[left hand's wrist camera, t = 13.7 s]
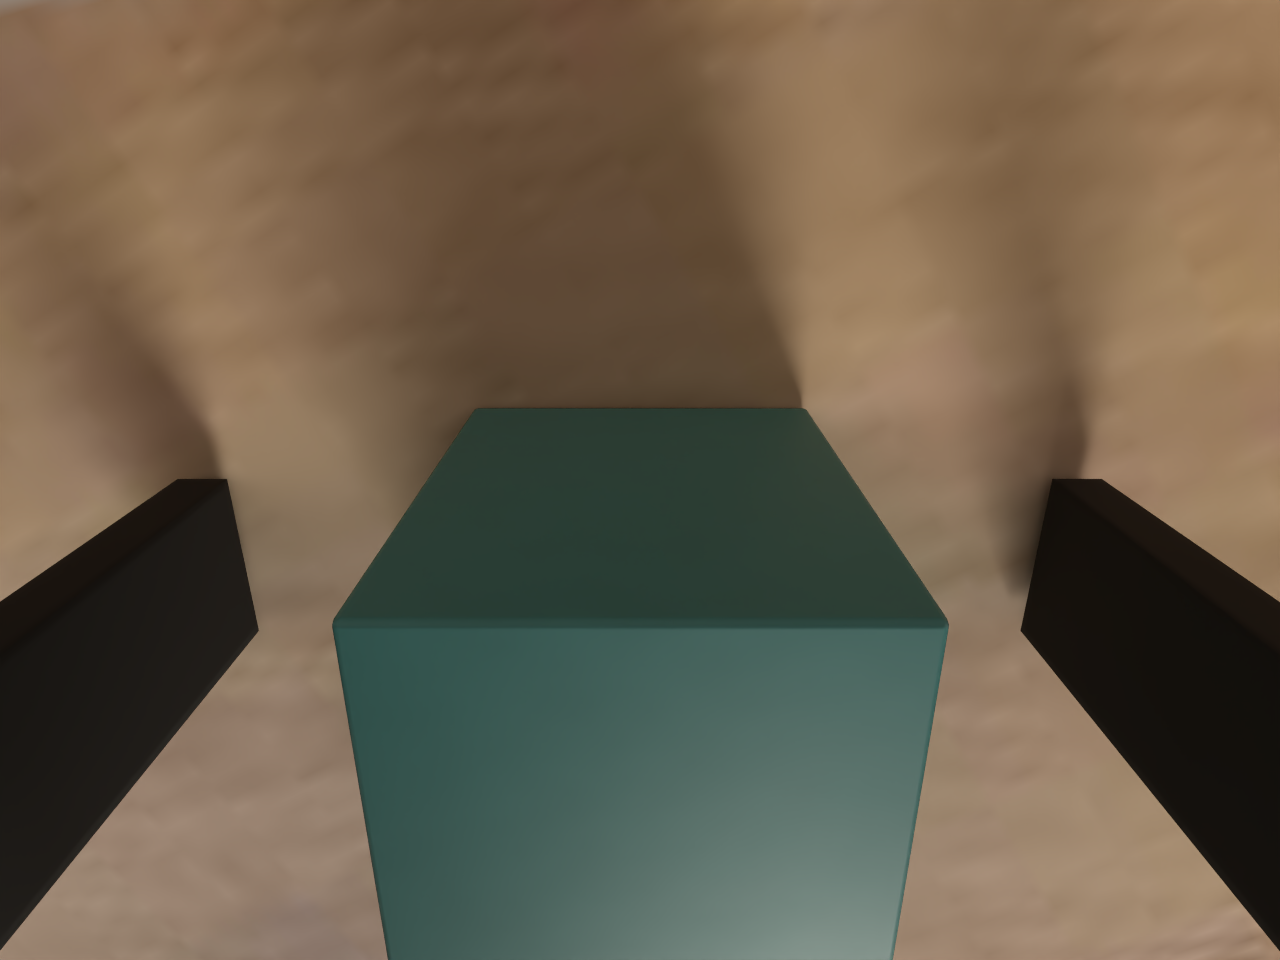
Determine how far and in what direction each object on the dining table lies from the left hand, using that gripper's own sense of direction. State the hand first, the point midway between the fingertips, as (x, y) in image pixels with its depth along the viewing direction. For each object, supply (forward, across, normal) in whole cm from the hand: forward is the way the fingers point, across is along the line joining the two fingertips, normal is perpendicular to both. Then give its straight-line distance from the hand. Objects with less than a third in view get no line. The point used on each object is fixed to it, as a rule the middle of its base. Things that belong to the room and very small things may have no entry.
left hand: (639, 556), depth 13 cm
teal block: (0, 0, 0) cm, 0 cm away
